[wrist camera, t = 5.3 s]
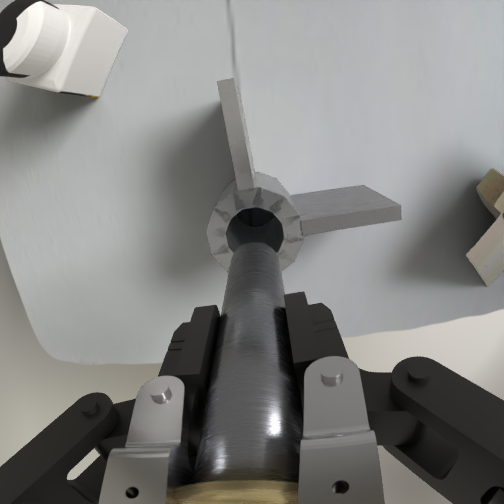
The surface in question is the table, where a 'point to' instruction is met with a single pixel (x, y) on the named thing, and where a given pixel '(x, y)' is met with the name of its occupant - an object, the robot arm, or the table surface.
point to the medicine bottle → (58, 46)
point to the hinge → (280, 200)
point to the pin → (250, 394)
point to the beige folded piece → (490, 230)
